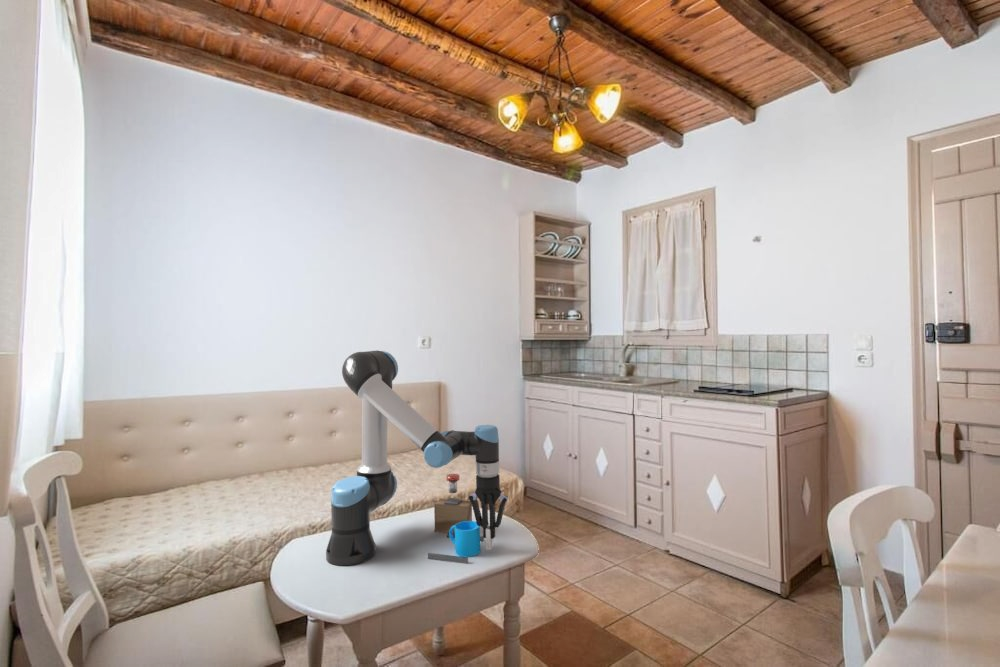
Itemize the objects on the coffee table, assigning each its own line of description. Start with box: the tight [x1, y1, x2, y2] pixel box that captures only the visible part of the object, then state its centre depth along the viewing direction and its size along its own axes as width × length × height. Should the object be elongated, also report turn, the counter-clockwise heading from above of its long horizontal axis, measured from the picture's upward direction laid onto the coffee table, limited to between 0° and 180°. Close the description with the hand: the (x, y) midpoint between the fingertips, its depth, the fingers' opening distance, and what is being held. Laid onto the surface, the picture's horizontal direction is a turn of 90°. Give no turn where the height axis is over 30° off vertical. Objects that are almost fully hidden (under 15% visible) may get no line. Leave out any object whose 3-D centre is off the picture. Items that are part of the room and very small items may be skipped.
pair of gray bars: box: [427, 532, 485, 564], centre depth 158 cm, size 13×17×2 cm
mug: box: [449, 520, 482, 558], centre depth 158 cm, size 12×8×8 cm
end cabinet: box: [433, 497, 473, 534], centre depth 173 cm, size 6×12×11 cm, turn 75°
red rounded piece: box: [446, 473, 460, 494], centre depth 173 cm, size 5×5×6 cm
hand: (489, 547), depth 155 cm, fingers closed
